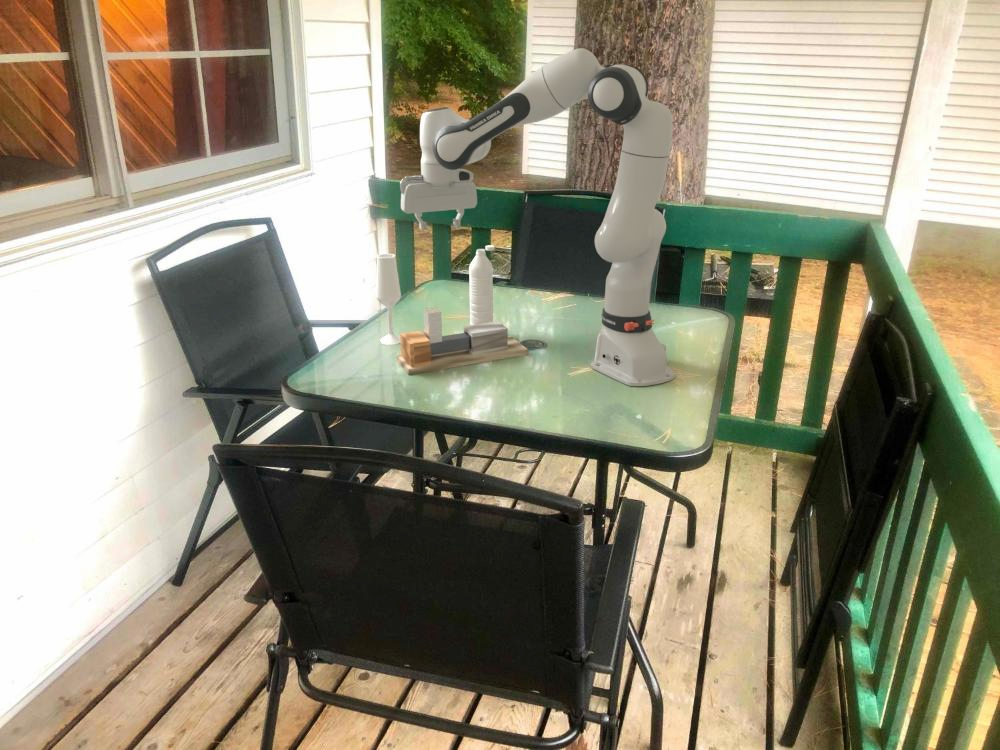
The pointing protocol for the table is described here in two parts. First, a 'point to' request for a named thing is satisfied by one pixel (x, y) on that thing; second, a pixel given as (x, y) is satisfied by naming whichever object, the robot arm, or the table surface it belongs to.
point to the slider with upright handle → (434, 334)
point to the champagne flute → (388, 291)
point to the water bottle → (481, 288)
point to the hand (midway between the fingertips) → (440, 227)
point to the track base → (485, 346)
